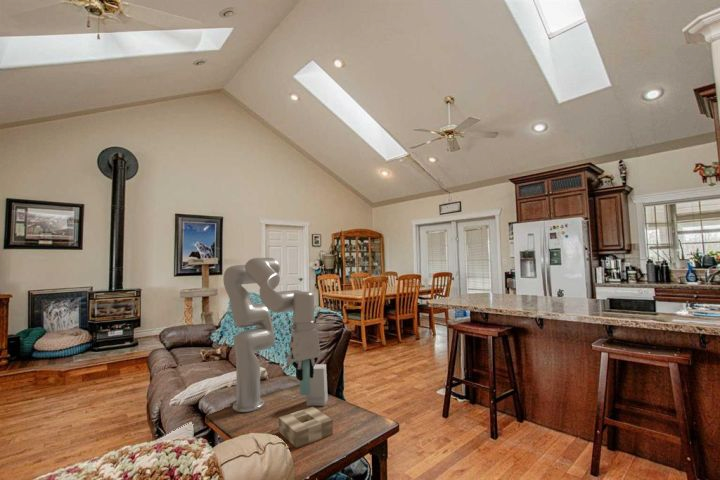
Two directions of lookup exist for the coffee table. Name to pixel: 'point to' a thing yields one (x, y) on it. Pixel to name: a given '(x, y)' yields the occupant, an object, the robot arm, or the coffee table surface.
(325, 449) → the coffee table surface
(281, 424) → the socket block
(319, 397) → the skincare box
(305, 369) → the peg
